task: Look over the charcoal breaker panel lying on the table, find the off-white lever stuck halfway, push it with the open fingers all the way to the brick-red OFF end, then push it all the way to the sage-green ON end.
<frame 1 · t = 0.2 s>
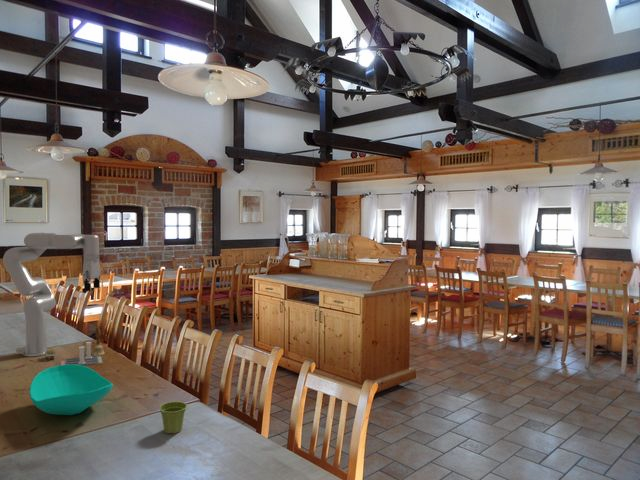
hand: (92, 289, 248), 37 cm above the table, tool pointing down, fingers open, 9 cm apart
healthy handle: (88, 350, 240), point 6 cm above the table, slide at 7.0 cm
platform: (50, 362, 241), on the table
tripped handle: (81, 355, 231), point 6 cm above the table, slide at 3.5 cm
plant pot: (173, 430, 165), on the table
panel: (81, 365, 235), on the table
hand bell: (98, 356, 250), on the table
table top decor: (72, 411, 180), on the table
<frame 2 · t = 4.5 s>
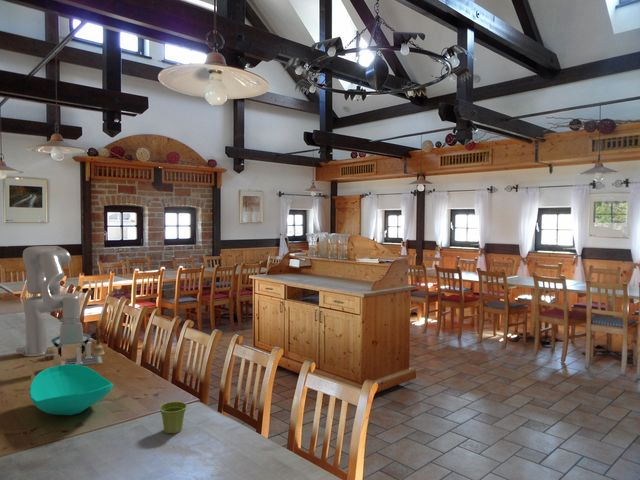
hand: (71, 354, 229), 7 cm above the table, tool pointing down, fingers open, 9 cm apart
tripped handle: (79, 356, 231), point 6 cm above the table, slide at 2.3 cm, touching gripper
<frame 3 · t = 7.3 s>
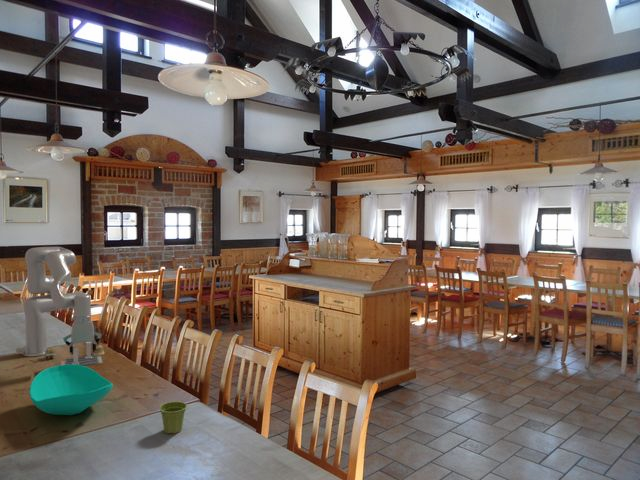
hand: (82, 352, 231), 7 cm above the table, tool pointing down, fingers open, 9 cm apart
tripped handle: (75, 356, 230), point 6 cm above the table, slide at 0.8 cm, touching gripper
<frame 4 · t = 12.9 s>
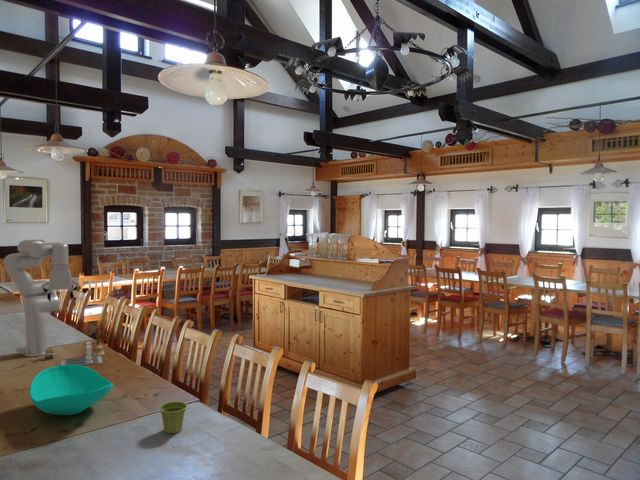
hand: (60, 300, 239), 32 cm above the table, tool pointing down, fingers open, 9 cm apart
tripped handle: (89, 354, 233), point 6 cm above the table, slide at 6.8 cm
at the end: tripped handle slide at 6.8 cm; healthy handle slide at 7.0 cm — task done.
